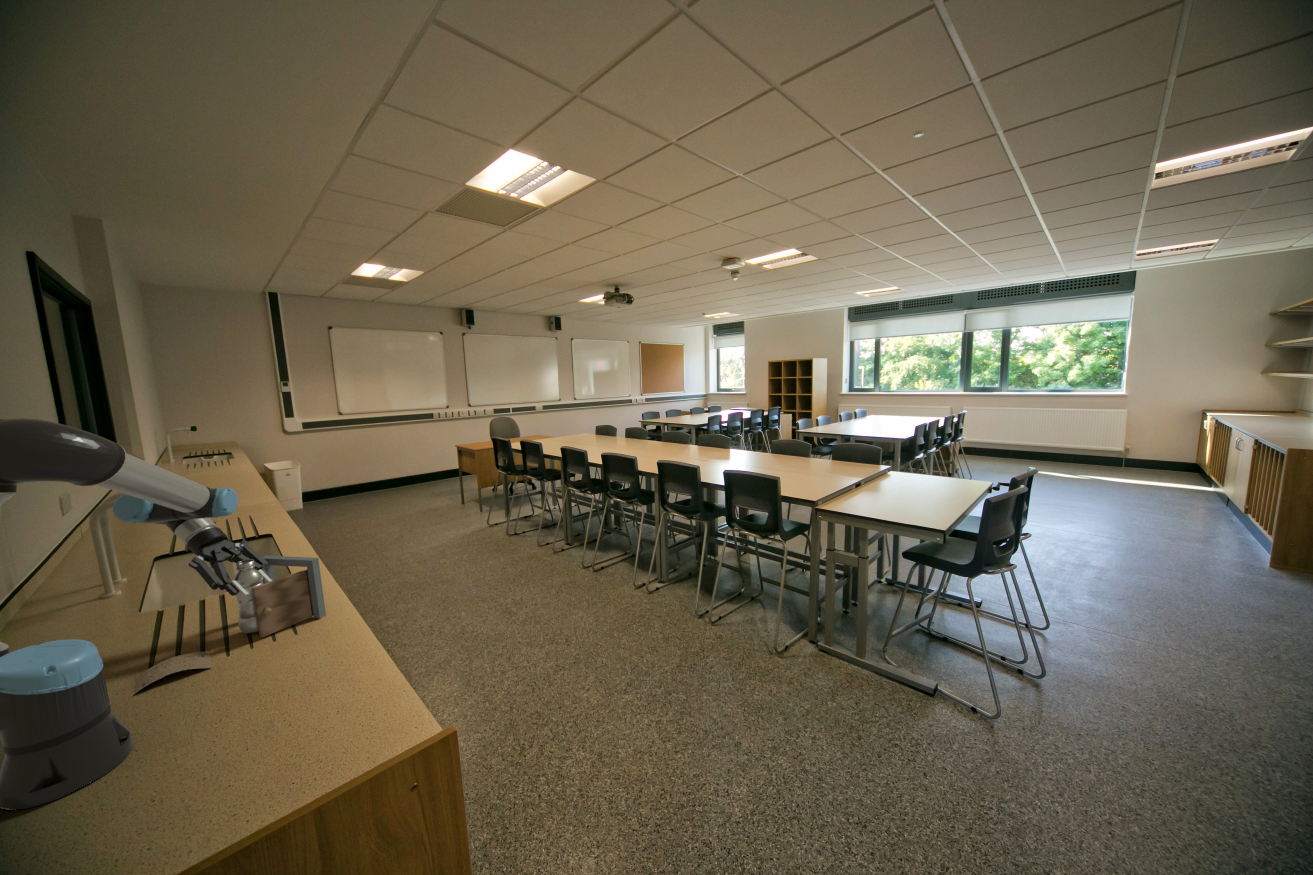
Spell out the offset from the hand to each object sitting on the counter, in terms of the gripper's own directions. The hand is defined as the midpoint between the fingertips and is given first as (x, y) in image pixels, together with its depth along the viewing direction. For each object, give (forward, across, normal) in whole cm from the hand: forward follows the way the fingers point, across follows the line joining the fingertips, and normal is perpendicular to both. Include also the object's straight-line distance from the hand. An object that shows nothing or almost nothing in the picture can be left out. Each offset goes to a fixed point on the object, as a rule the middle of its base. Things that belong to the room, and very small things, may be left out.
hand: (260, 594), depth 125 cm
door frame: (+8, -9, -8) cm, 15 cm away
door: (+11, -3, -5) cm, 12 cm away
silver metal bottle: (+5, 0, -10) cm, 11 cm away
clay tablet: (+5, +18, -12) cm, 22 cm away
